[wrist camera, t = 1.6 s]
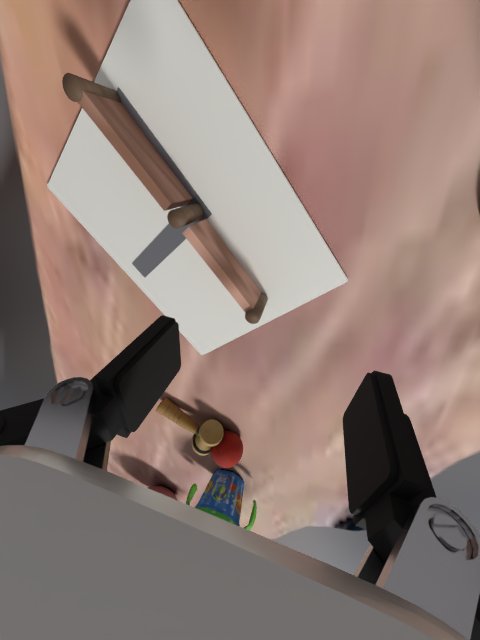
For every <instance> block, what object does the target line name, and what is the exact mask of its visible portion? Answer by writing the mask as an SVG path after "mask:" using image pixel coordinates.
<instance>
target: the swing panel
mask: <svg viewBox="0 0 480 640" xmlns="http://www.w3.org/2000/svg"><path fill="white" fill-rule="evenodd" d="M182 234H183V235H184V236H185V237H186V239H187V240H188V241H189V242H190V244H191V245H192V246H193V247H194V249H195V250H196V251H197V253H198V254H199V255H200V256H201V258H202V259H203V260H204V261H205V263H206V264H207V265H208V266H209V268H210V269H211V270H212V271H213V273H214V274H215V275H216V276H217V278H218V279H219V280H220V282H221V283H222V284H223V285H224V287H225V288H226V289H227V290H228V292H229V293H230V294H231V295H232V297H233V298H234V299H235V300H236V302H237V303H238V304H239V305H240V307H241V308H242V309H243V310H244V312H245V313H246V314H245V319H246V321H247V322H249V323H251V324H256V323H258V322H259V320H260V318H261V316H262V313H263V311H264V308H265V306H266V303H267V301H268V297H267V295H266V294H265V293H262V292H260V290H259V289H258V288H257V286H256V285H255V284H254V282H253V281H252V280H251V278H250V277H249V276H248V274H247V273H246V272H245V270H244V269H243V268H242V266H241V265H240V264H239V262H238V261H237V260H236V258H235V257H234V256H233V254H232V253H231V252H230V250H229V249H228V248H227V246H226V245H225V243H224V242H223V241H222V239H221V238H220V237H219V235H218V234H217V233H216V231H215V230H214V229H213V227H212V226H211V225H210V223H209V222H208V221H207V219H205V220H203V221H200V222H198V223H196V224H194V225H191V226H189V227H188V228H187V229H186V230H185V231H184V232H183V233H182Z"/></svg>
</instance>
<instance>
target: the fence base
mask: <svg viewBox="0 0 480 640" xmlns="http://www.w3.org/2000/svg"><path fill="white" fill-rule="evenodd" d="M63 88H64V91H65V93H66V95H67V96H68V98H69V99H70V100H72V101H74V102H78V103H79V104H80V106H81V107H82V108H83V109H84V111H85V112H86V113H87V114H88V116H89V117H90V118H91V119H92V121H93V122H94V123H95V124H96V126H97V127H98V128H99V129H100V131H101V132H102V133H103V135H104V136H105V137H106V138H107V140H108V141H109V142H110V143H111V145H112V146H113V147H114V148H115V150H116V151H117V152H118V153H119V155H120V156H121V157H122V158H123V160H124V161H125V162H126V163H127V165H128V166H129V167H130V169H131V170H132V171H133V172H134V174H135V175H136V176H137V177H138V179H139V180H140V181H141V182H142V184H143V185H144V186H145V187H146V189H147V190H148V191H149V192H150V194H151V195H152V196H153V198H154V199H155V200H156V201H157V203H158V204H159V205H160V206H161V208H162V209H163V210H164V211H166V210H170V209H173V208H177V207H180V208H177V209H173V210H171V211H169V213H168V216H167V219H168V222H169V224H170V225H171V226H172V227H173V228H181V227H183V226H185V225H188V224H190V223H193V222H195V221H197V220H200V219H202V218H203V216H204V210H203V207H202V206H201V205H200V204H198V203H195V204H191V205H187V204H188V203H189V202H190V201H191V200H192V199H193V198H192V197H191V196H190V194H189V193H188V192H187V190H186V189H185V188H184V186H183V185H182V184H181V182H180V181H179V180H178V178H177V177H176V175H175V174H174V173H173V171H172V170H171V169H170V167H169V166H168V165H167V163H166V162H165V161H164V159H163V158H162V157H161V155H160V154H159V153H158V151H157V150H156V149H155V147H154V146H153V145H152V143H151V142H150V141H149V139H148V138H147V137H146V135H145V134H144V133H143V131H142V130H141V128H140V127H139V126H138V124H137V123H136V122H135V120H134V119H133V118H132V116H131V115H130V114H129V112H128V111H127V110H126V108H125V107H124V106H123V104H122V103H121V98H120V96H119V94H118V93H117V92H116V91H115V90H113V89H111V88H108V87H105V86H102V85H100V84H97V83H94V82H92V81H89V80H86V79H84V78H81V77H78V76H76V75H73V74H70V73H66V74H65V75H64V77H63ZM184 205H187V206H184ZM181 206H184V207H181Z"/></svg>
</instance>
